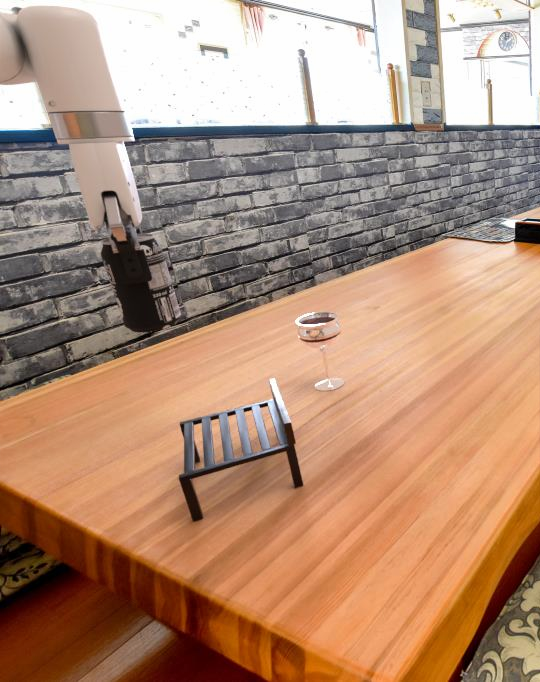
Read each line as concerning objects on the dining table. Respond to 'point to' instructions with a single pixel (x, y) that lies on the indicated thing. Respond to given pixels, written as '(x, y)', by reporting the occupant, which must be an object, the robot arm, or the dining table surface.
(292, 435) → the rack
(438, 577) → the dining table surface
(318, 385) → the wineglass
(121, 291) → the beverage can
